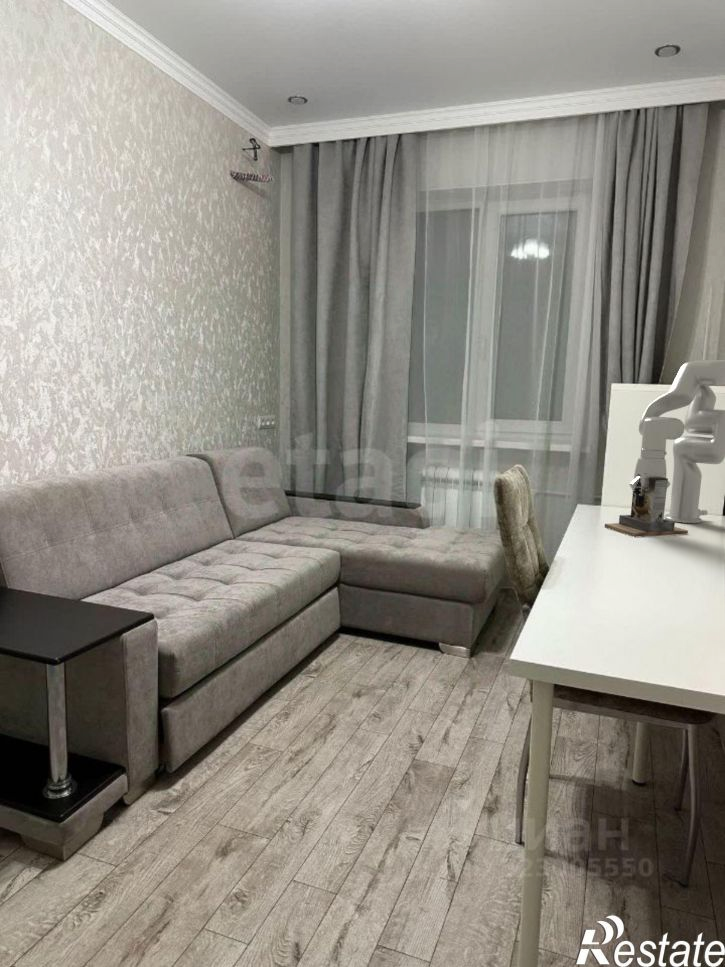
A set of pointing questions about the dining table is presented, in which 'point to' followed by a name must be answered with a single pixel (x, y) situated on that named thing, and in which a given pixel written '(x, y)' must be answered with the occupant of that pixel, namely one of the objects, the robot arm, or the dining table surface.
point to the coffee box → (651, 501)
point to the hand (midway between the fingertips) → (648, 506)
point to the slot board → (645, 527)
